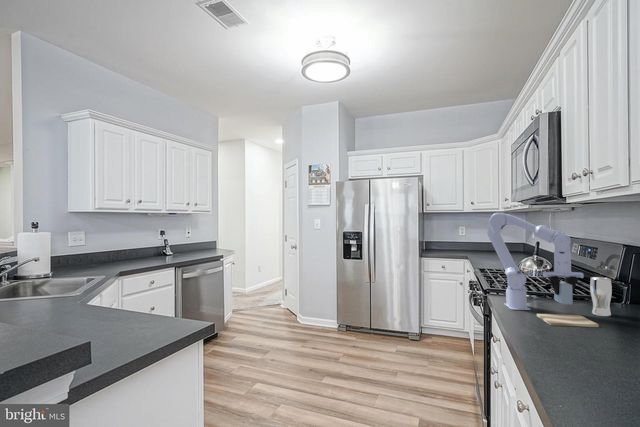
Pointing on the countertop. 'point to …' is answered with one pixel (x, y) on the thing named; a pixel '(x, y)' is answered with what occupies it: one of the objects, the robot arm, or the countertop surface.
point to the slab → (564, 293)
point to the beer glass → (601, 295)
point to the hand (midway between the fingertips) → (563, 294)
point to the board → (567, 320)
